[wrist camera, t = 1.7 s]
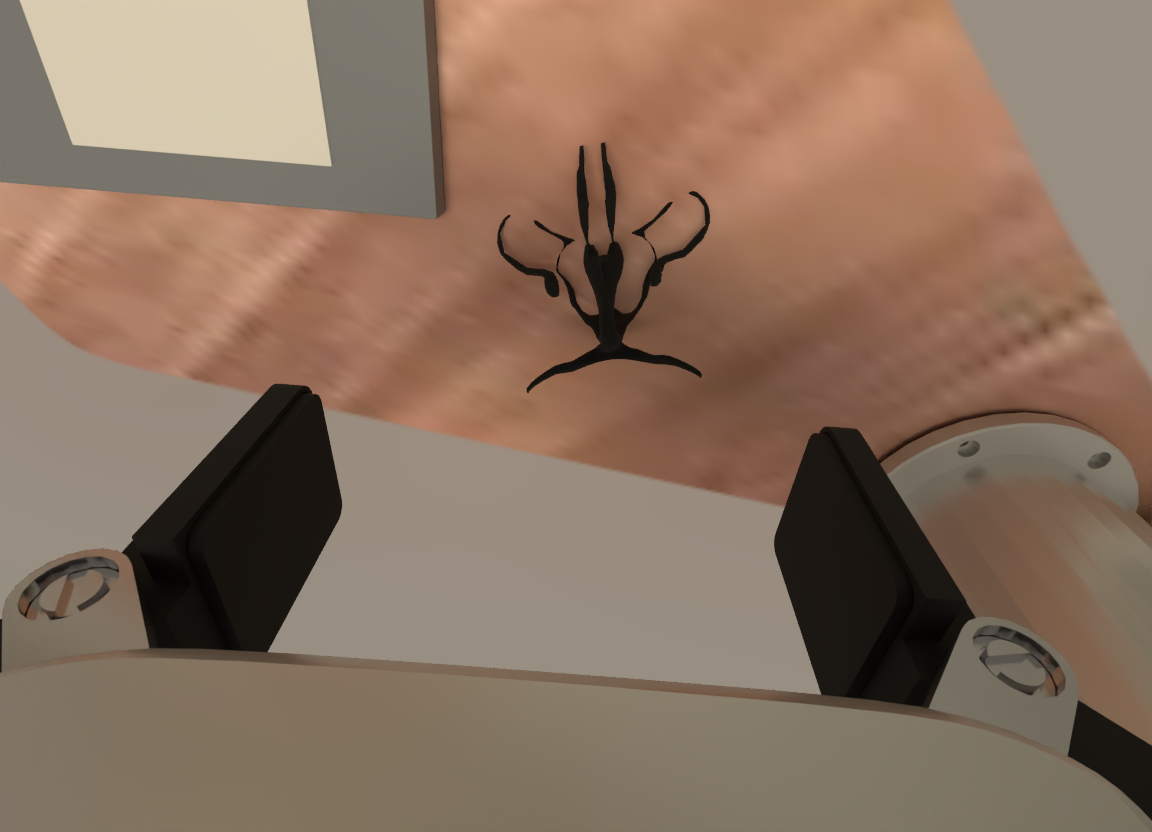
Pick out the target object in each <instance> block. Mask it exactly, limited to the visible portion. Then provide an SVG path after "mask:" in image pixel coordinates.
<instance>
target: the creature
mask: <svg viewBox="0 0 1152 832" xmlns="http://www.w3.org/2000/svg"><path fill="white" fill-rule="evenodd" d="M601 152H602V163H603V172H604V183H605V190H606V199H605V205H606V214H607V221H608V227H609V230H610V234H611V238H612V243H610V246H609V250H608V254H607V255H601V256H599V255H598V251H597V250H596V249H595V247H594V245H590V244H589V242H588V228H589V226H588V207H589V203H588V198H587V189H586V180H585V174H584V149H583V146H580V153H579V168H578V171H577V198H578V208H579V216H580V222H581V227H582V230H583V233H584V236H585V240H586V243H587V244H586V246H585V251H584V267H585V271H586V274H587V276H588V279H589V281H590V283H591V285H592V288H593V290H594V293H595V296H596V301H597V305H598V311H599V314H597V315H591V316H590V315H588V314H586V313H585V312H583V311H582V310H581V308H580V307H579V305H578V304H577V302H576V297H575V293H574V290H573V288H572V286H571V284H570V283H569V282H568V281H567V280H566V279H565V278H564V277H563V276H562V275H561V274H560V273H559V271H558V268H556V271H557V273H558V274H559V275H560V276H561V278H562V279H563V280H564V282H565V284H566V286H567V290H568V293H569V298H570V302H571V304H572V306H573V307H574V308H575V309H576V311H577V312H578V314H579V315H580V316H581V317H582V319H583V320H584V322H585V323H586V324H587V325H589V326H590V327H591V328H592V329H593V330H594V332H595V335H596V337H597V339H598V340H599V342H600V343H601V344H599V345H598V346H597V347H596V348H594V349H593V350H591V351H589V352H587V353H585V354H584V355H582V356H581V357H579V358H577V359H575V360H574V361H571V362H567V363H563V364H559V365H556V366H554V367H552V368H551V369H549V370H547V371H546V372H544V373H543V374H542V375H540V376H539V377H537V378H536V379H535V380H534V381H533V382H532V383H531V384H530V385H529V386H528V387H527V393H529V391H530V390H531V389H532V388H533V387H534V386H536V385H537V384H539V383H540V382H542V381H543V380H545V379H547V378H549V377H551V376H553V375H555V374H560V373H567V372H573V371H575V370H578V369H580V368H583V367H585V366H588V365H591V364H594V363H597V362H600V361H605V360H610V359H628V360H636V361H641V362H647V363H653V364H666V365H673V366H677V367H680V368H683V369H685V370H688V371H690V372H692V373H694V374H696V375H697V376H699V377H700V378H701V377H702V374H701V372H700V371H699V370H697V369H696V368H694V367H693V366H691V365H689V364H687V363H685V362H683V361H681V360H679V359H676V358H674V357H671V356H667V355H651V354H648V353H646V352H643V351H641V350H639V349H634V348H630V347H628V346H626V345H624V344H623V343H622V339H623V336H624V333H625V330H626V327H627V325H628V324H629V323H630V322H631V321H632V320H633V319H634V317H635V316H636V314H637V313H638V311H639V310H640V308H641V307H642V305H643V303H644V301H645V299H646V297H647V295H648V291H649V286H650V284H651V286H652V287H653V286H657V285H658V284H659V283H660V282H661V276H662V273H661V272H662V271H663V268H664V265H665V264H666V263H667V262H670V261H673V260H675V259H679V258H683V257H685V256H686V255H687V254H689V253H690V252H691V251H692V250H693V249H694V248H695V247H696V246H697V244H699V243H700V242H701V241H702V239H703V238H704V236H705V234H706V232H707V229H708V226H709V223H710V214H709V208H708V205H707V203H706V201H705V200H704V199H703V198H702V197H701V196H700V195H699V194H698V193H697V192H694V191H691V192H689V194H691V195H693V196H695V197H697V198H698V199H699V200H700V201H701V203H702V204H703V205H704V209H705V226H704V227H703V228H702V229H701V231H700V232H699V233H698V234H697V235H696V236H695V237H694V238H693V239H692V240H691V242H690V243H689V244H688V245H687V246H686V247H685V248H684V249H683V250H680V251H677V252H674V253H671V254H668V255H665V256H663V257H661V258H659V259H658V260H657V258H656V254H655V251H654V248H653V247H652V249H653V252H654V254H655V261H654V263H653V264H652V266H651V268H650V269H649V271H648V273H647V275H646V278H645V281H644V284H643V291H642V297H641V300H640V302H639V304H638V305H637V307H636V308H635V309H634V310H633V311H632V312H631V313H628V314H623V313H621V312H619V311H618V310H617V309H616V308H614V302H615V293H616V288H617V284H618V282H619V279H620V277H621V273H622V269H623V261H624V257H623V253H622V250H621V247H620V245H619V243H617V242H615V241H614V239H613V231H614V224H615V206H616V191H615V184H614V180H613V177H612V172H611V169H610V166H609V164H608V162H607V156H606V147H605V142H604V143H601ZM671 204H672V202H670V203H668V204H667V205H666V206H665V207H664V208H663V209H662V210H661V212H660V213H659V214H658V215H657V216H656V217H655V219H653V220H652V221H651V222H649V223H648V224H646V225H645V226H643V227H642V228H640V229H638V230H636V231H634V232H632V234H635V235H638V236H641V237H643V238H644V239H645V240H646V238H645V234H644V231H645V230H646V229H647V228H648V227H649V226H650V225H652V224H653V223H654V222H655V221H656V220H657V219H658V218H659V217H660V216H662V215H663V214H664V213H665V212H666V211H667V210H668V208H669V207H670V206H671ZM509 217H510V215H508V216H507V217H505V219H504V220H503V221H502V223H501V225H500V228H499V231H498V240H497V244H498V247H499V251H500V253H501V255H502V256H503V257H504V258H505V259H506V260H507V261H508V262H509V263H510V264H511V265H513V266H514V267H515V268H516V269H517V270H519V271H521V272H523V273H525V274H526V275H535V276H543V277H544V283H545V289H546V291H547V293H548V294H549V295H550V296H551V297H557V296H559V284H558V280H557V278H556V276H555V275H554V273H553V272H551V271H548V270H545V269H534V268H527V267H525V266H524V265H522V264H521V263H519V262H518V261H516V260H515V259H513V258H512V257H510V256H509V255H507V254H506V253H504V249H503V245H502V240H501V236H500V232H501V230H502V228H503V225H504V223H505V221H506V220H507V219H508V218H509ZM534 223H535V224H536V225H537V226H538V227H539V228H541V229H543V230H544V231H546V232H548V233H550V234H552V235H554V236H556V237H558V238H559V239H561V240H562V241H563V242H564V248H565V247H566V246H567V245H569V244H570V243H571V242H572V241H575V240H573V239H569V238H566V237H563V236H561V235H558V234H556V233H553V232H550V231H549V230H548V229H547V228H545V227H544V226H543V225H542V224H540V223H539V222H538V221H536V220H534ZM649 243H650V242H649ZM651 246H652V245H651ZM564 248H563V249H564ZM562 251H563V250H562ZM562 251H561V252H562ZM560 254H561V253H560ZM559 257H560V255H559ZM559 257H558V259H557V266H558V262H559Z"/></svg>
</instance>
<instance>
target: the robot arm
mask: <svg viewBox="0 0 1152 832" xmlns="http://www.w3.org/2000/svg"><path fill="white" fill-rule="evenodd" d="M1138 504H1139V484H1138V481H1137V478H1136V475H1135V472H1134V469H1133V466H1132V465H1131V463H1130V462H1129V461H1128V460H1127V458H1126V457H1125V456H1124V454H1123V453H1122V452H1121V450H1119V449H1118V448H1117V447H1116V446H1114V445H1113V444H1112V443H1111V442H1110V441H1108V440H1107V439H1106V438H1105V437H1103V436H1102V435H1101V434H1100V433H1098V432H1097V431H1095V430H1093V429H1091V428H1089V427H1087V426H1085V425H1083V424H1082V423H1080V422H1077V421H1074V420H1070V419H1066V418H1063V417H1059V416H1055V415H1049V414H1038V413H1026V412H1022V413H1007V414H994V415H989V416H984V417H979V418H974V419H969V420H965V421H961V422H958V423H956V424H953V425H950V426H947V427H944V428H941V429H938V430H935V431H933V432H931V433H929V434H927V435H925V436H923V437H921V438H919V439H917V440H915V441H913V442H911V443H909V444H907V445H906V446H904V447H903V448H901V449H900V450H898V451H897V452H895V453H894V454H892V455H891V456H889V457H888V458H887V459H885V460H884V461H882V462H881V463H879V461H878V460H877V458H876V457H875V455H874V454H873V452H872V450H871V449H870V447H869V446H868V444H867V443H866V441H865V439H864V438H863V436H862V435H861V433H860V432H859V431H858V430H857V429H852V428H839V427H824V428H823V429H822V430H821V431H820V433H814V434H812V435H811V436H810V439H809V441H808V444H807V447H806V449H805V452H804V455H803V458H802V461H801V464H800V466H799V469H798V472H797V475H796V478H795V480H794V483H793V486H792V489H791V492H790V494H789V497H788V500H787V503H786V506H785V509H784V511H783V514H782V517H781V520H780V523H779V526H778V528H777V531H776V534H775V540H774V546H775V553H776V557H777V560H778V563H779V566H780V569H781V572H782V575H783V578H784V581H785V584H786V587H787V590H788V594H789V597H790V600H791V603H792V606H793V609H794V612H795V615H796V618H797V621H798V624H799V627H800V630H801V633H802V636H803V639H804V643H805V646H806V649H807V652H808V655H809V658H810V661H811V664H812V667H813V670H814V673H815V676H816V679H817V683H818V685H819V689H820V692H821V695H817V694H806V693H796V692H786V691H775V690H763V689H750V688H739V687H726V686H714V685H701V684H690V683H678V682H666V681H652V680H641V679H629V678H616V677H602V676H590V675H577V674H564V673H551V672H539V671H525V670H511V669H498V668H484V667H472V666H459V665H446V664H431V663H416V662H403V661H389V660H373V659H360V658H346V657H333V656H318V655H305V654H288V653H270V652H268V650H269V648H270V646H271V644H272V643H273V641H274V639H275V637H276V635H277V633H278V631H279V629H280V628H281V626H282V624H283V622H284V620H285V618H286V617H287V615H288V613H289V611H290V609H291V607H292V605H293V604H294V602H295V600H296V598H297V596H298V594H299V592H300V591H301V589H302V587H303V585H304V583H305V581H306V579H307V578H308V576H309V574H310V572H311V570H312V568H313V567H314V565H315V563H316V561H317V559H318V557H319V555H320V553H321V552H322V550H323V548H324V546H325V544H326V542H327V540H328V539H329V537H330V535H331V533H332V531H333V529H334V528H335V526H336V524H337V522H338V520H339V518H340V515H341V509H342V499H341V494H340V489H339V484H338V479H337V474H336V470H335V465H334V460H333V455H332V451H331V445H330V441H329V436H328V431H327V426H326V421H325V417H324V411H323V406H322V402H321V399H320V397H319V395H317V394H312V391H311V390H310V388H309V387H307V386H301V385H288V384H274V385H272V386H271V387H270V388H269V389H268V390H267V391H266V392H265V394H264V395H263V396H262V397H261V398H260V399H259V400H258V401H257V402H256V403H255V404H254V405H253V406H252V408H251V409H250V410H249V411H248V412H247V413H246V414H245V415H244V416H243V417H242V418H241V420H239V422H238V423H237V424H236V425H235V426H234V427H233V428H232V429H231V430H230V431H229V432H228V433H227V435H226V436H225V437H224V438H223V439H222V440H221V441H220V442H219V443H218V444H217V445H216V447H215V448H214V449H213V450H212V451H211V452H210V453H209V454H208V455H207V456H206V457H205V458H204V459H203V460H202V461H201V463H200V464H199V465H198V466H197V467H196V468H195V469H194V470H193V471H192V472H191V473H190V474H189V476H188V477H187V478H186V479H185V480H184V481H183V482H182V483H181V484H180V485H179V486H178V487H177V489H176V490H175V491H174V492H173V493H172V494H171V495H170V496H169V497H168V498H167V499H166V500H165V501H164V502H163V504H162V505H161V506H160V507H159V508H158V509H157V510H156V511H155V512H154V513H153V514H152V515H151V517H150V518H149V519H148V520H147V521H146V522H145V523H144V524H143V525H142V526H141V527H140V528H139V529H138V531H137V532H136V533H135V534H134V535H133V536H132V539H133V541H132V542H131V543H130V544H129V545H128V546H127V547H126V548H125V550H124V551H123V552H122V553H121V552H119V551H116V550H110V549H92V550H84V551H80V552H76V553H72V554H68V555H66V556H63V557H61V558H58V559H56V560H54V561H51V562H49V563H47V564H45V565H44V566H42V567H40V568H39V569H37V570H35V571H34V572H32V573H30V574H29V575H28V576H27V577H26V578H24V579H23V580H22V581H21V582H20V583H18V584H17V585H16V586H15V587H14V589H13V590H12V592H11V593H10V594H9V596H8V597H7V598H6V600H5V604H4V607H3V611H2V619H0V832H1152V527H1151V526H1150V525H1149V524H1148V523H1147V522H1146V521H1145V520H1144V519H1143V518H1142V517H1140V516H1139V515H1138V514H1137V513H1136V511H1137V507H1138Z"/></svg>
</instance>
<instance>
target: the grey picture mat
mask: <svg viewBox="0 0 1152 832" xmlns="http://www.w3.org/2000/svg"><path fill="white" fill-rule="evenodd" d="M0 182H6V183H18V184H30V185H42V186H53V187H65V188H77V189H89V190H100V191H112V192H124V193H136V194H148V195H159V196H171V197H183V198H195V199H207V200H218V201H230V202H242V203H254V204H265V205H277V206H289V207H301V208H313V209H324V210H336V211H348V212H360V213H371V214H383V215H395V216H407V217H419V218H430V219H437V218H438V217H439V216H440V215H441V214H442V213H443V212H444V211H445V203H444V184H443V165H442V146H441V127H440V108H439V89H438V71H437V52H436V33H435V14H434V0H0Z"/></svg>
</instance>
